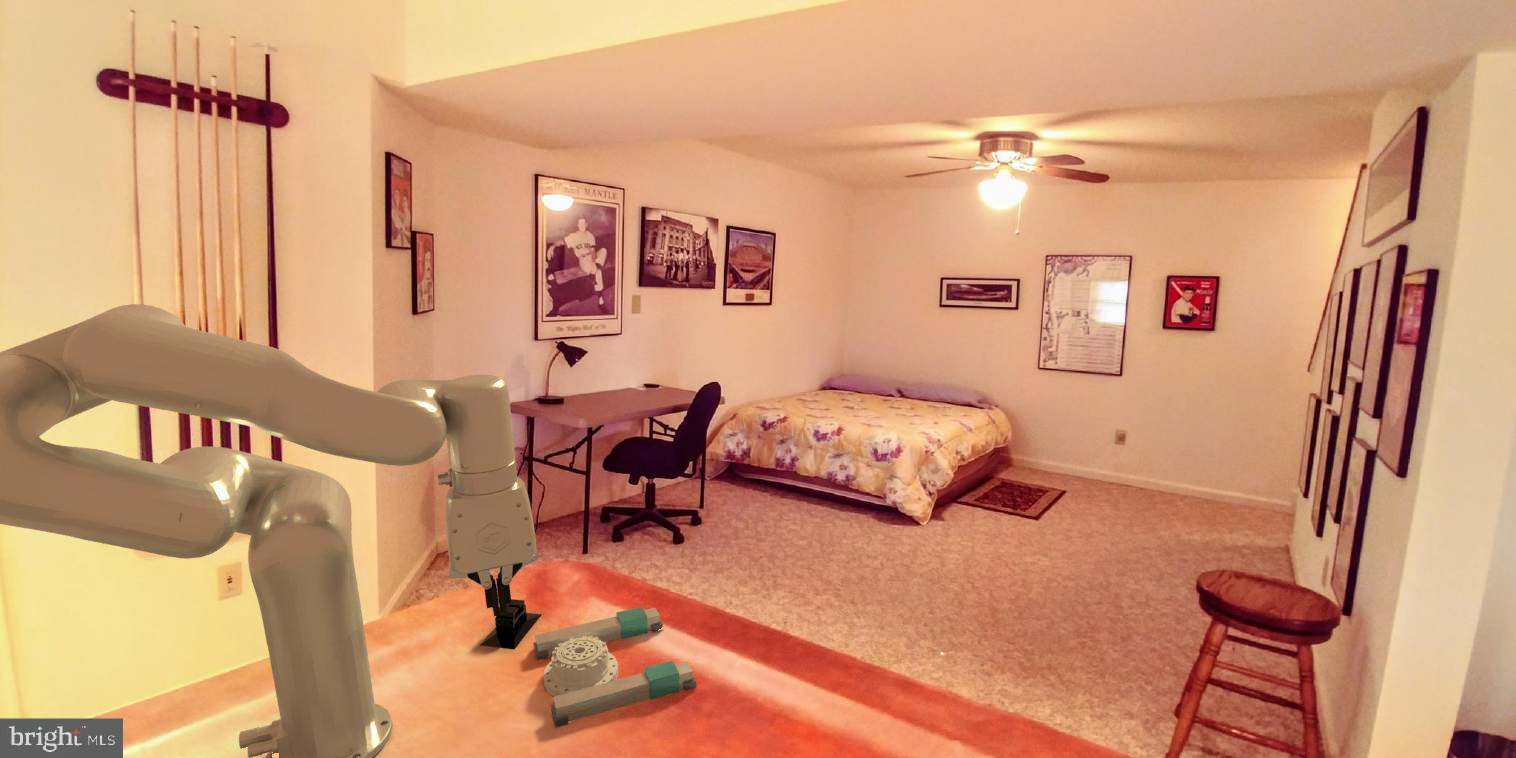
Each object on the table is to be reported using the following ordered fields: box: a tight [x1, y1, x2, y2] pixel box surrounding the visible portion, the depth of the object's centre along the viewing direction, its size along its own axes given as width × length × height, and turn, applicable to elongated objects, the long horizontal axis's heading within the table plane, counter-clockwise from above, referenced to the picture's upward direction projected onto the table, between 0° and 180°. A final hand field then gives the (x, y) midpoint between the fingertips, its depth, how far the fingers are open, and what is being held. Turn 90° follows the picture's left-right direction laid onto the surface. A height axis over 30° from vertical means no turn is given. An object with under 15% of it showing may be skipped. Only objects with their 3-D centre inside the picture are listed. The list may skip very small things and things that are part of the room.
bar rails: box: [532, 606, 697, 729], centre depth 103 cm, size 19×18×3 cm
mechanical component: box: [543, 635, 619, 697], centre depth 101 cm, size 10×4×10 cm
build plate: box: [479, 598, 543, 650], centre depth 112 cm, size 12×7×5 cm, turn 171°
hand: (499, 609), depth 94 cm, fingers closed
